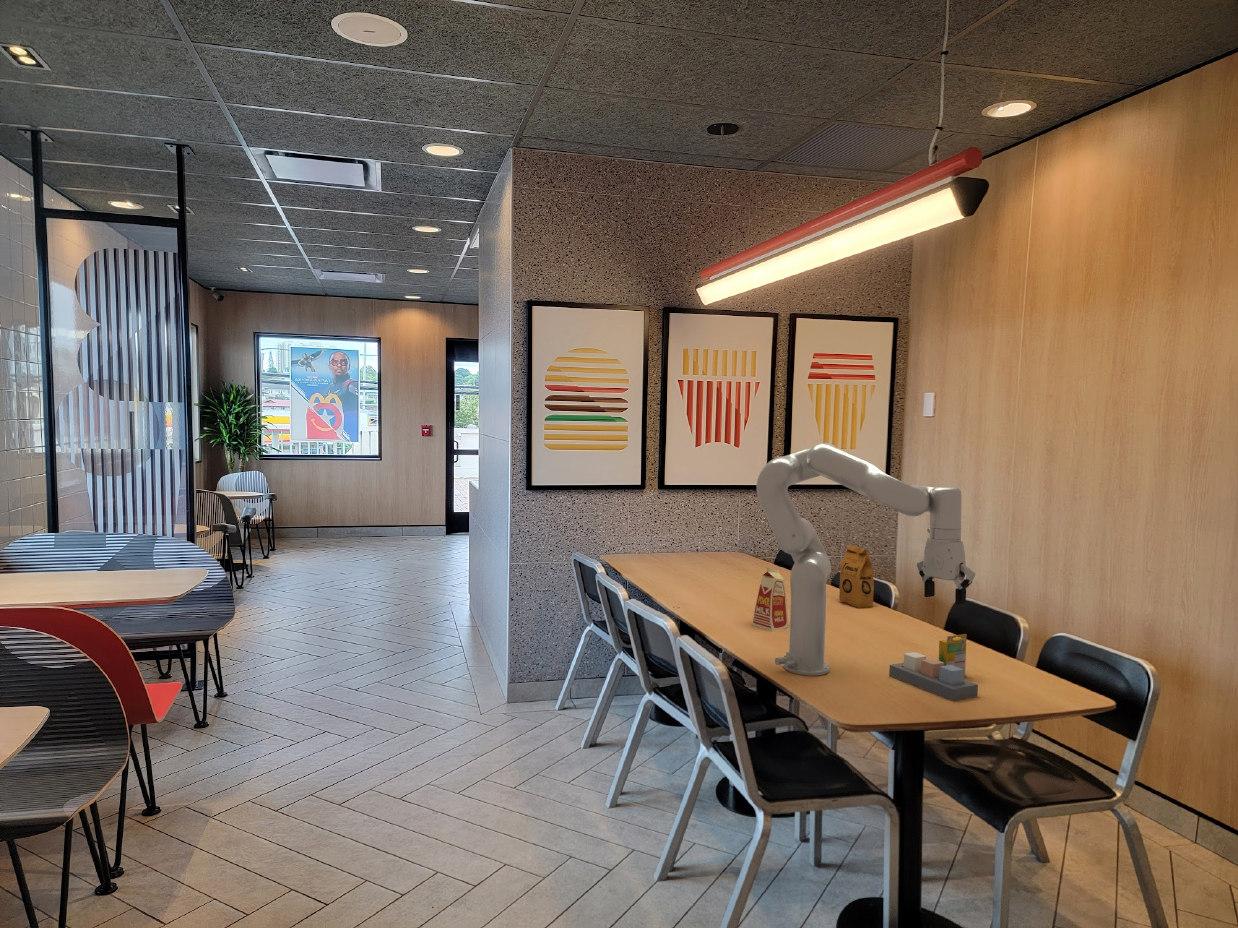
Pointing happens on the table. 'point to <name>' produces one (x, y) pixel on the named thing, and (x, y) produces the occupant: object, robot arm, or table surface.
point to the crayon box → (953, 651)
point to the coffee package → (856, 578)
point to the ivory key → (913, 661)
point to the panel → (934, 683)
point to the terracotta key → (931, 667)
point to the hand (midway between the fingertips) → (944, 599)
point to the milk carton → (771, 603)
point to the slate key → (951, 675)
